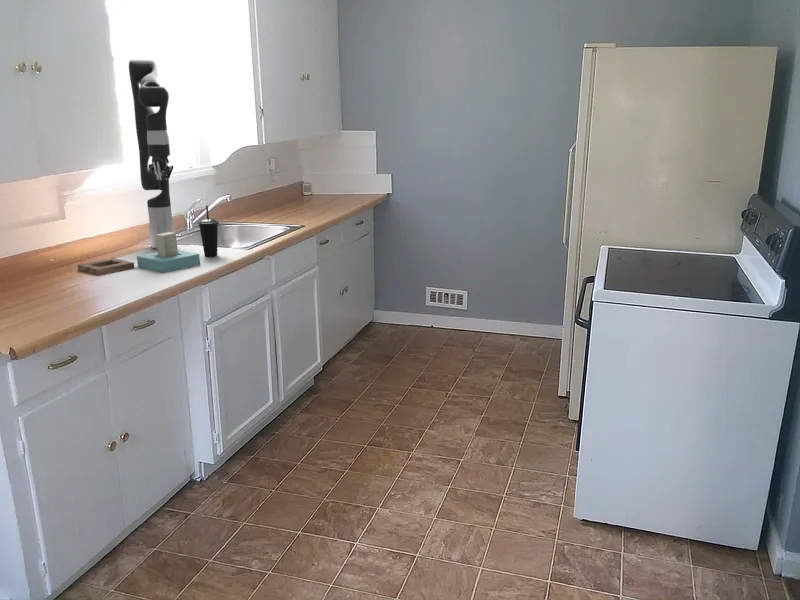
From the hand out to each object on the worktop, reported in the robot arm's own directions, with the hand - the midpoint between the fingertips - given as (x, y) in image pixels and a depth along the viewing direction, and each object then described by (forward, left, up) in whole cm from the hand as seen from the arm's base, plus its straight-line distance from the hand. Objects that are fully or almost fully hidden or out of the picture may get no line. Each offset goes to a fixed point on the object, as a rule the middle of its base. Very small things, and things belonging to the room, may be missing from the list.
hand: (163, 190), depth 263 cm
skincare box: (+8, -6, -27) cm, 29 cm away
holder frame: (-6, -23, -27) cm, 36 cm away
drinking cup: (+7, +14, -27) cm, 31 cm away
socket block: (+8, -6, -27) cm, 29 cm away
